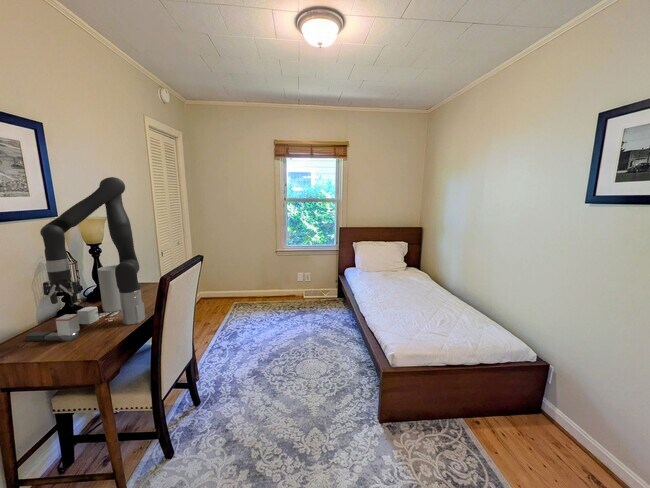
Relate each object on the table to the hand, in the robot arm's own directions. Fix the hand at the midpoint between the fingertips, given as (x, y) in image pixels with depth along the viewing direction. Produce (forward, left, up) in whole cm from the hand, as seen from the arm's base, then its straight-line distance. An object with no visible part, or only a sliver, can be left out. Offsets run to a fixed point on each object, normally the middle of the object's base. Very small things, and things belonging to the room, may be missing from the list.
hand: (64, 303), depth 128 cm
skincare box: (+5, -18, -18) cm, 26 cm away
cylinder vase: (+3, -36, -18) cm, 40 cm away
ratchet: (+8, 0, -18) cm, 19 cm away
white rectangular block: (0, 0, -15) cm, 15 cm away
